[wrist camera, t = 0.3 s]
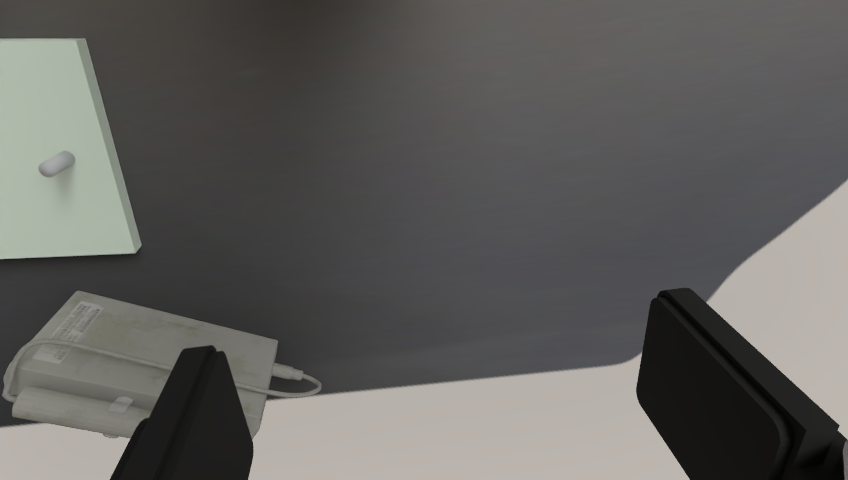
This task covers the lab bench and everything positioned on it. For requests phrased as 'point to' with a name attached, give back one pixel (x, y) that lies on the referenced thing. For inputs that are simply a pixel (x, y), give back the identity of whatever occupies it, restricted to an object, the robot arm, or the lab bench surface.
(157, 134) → the lab bench surface
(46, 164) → the pin plate
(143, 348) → the geiger counter
